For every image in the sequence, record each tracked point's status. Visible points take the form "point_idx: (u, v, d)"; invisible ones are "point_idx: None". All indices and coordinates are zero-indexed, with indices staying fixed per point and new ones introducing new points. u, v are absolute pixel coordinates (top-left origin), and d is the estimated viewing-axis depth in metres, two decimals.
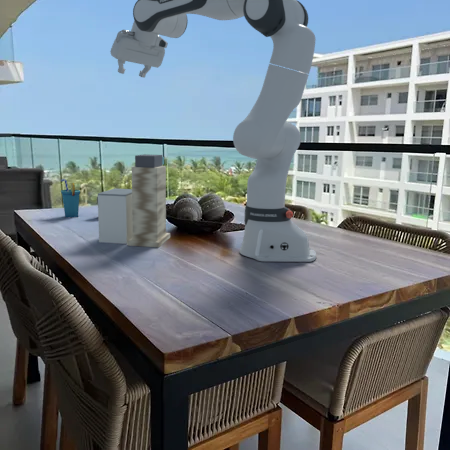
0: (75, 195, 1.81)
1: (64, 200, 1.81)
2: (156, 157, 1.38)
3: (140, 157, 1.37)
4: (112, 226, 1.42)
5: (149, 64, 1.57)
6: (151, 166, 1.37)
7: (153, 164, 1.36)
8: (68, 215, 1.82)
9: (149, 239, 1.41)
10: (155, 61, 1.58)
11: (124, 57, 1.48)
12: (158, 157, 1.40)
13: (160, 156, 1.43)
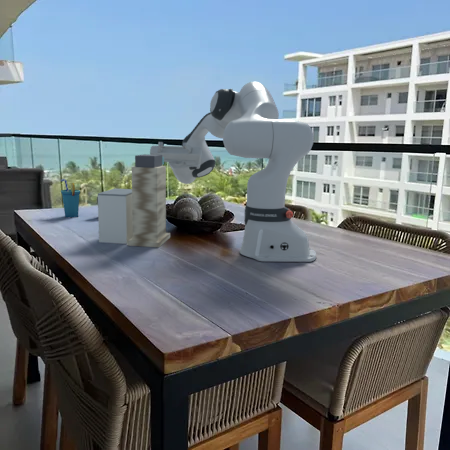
0: (75, 195, 1.81)
1: (64, 200, 1.81)
2: (156, 157, 1.38)
3: (140, 157, 1.37)
4: (112, 226, 1.42)
5: None
6: (151, 166, 1.37)
7: (153, 164, 1.36)
8: (68, 215, 1.82)
9: (149, 239, 1.41)
10: None
11: None
12: (158, 157, 1.40)
13: (160, 156, 1.43)
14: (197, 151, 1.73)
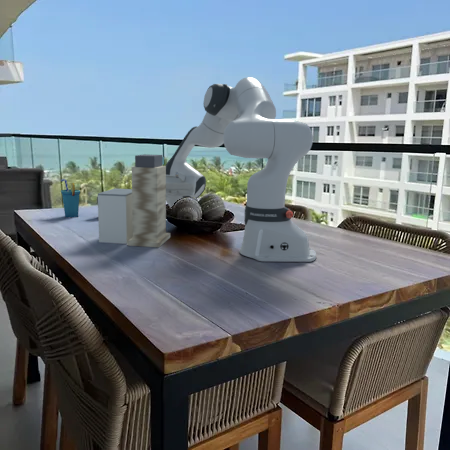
0: (75, 195, 1.81)
1: (64, 200, 1.81)
2: (156, 157, 1.38)
3: (140, 157, 1.37)
4: (112, 226, 1.42)
5: None
6: (151, 166, 1.37)
7: (153, 164, 1.36)
8: (68, 215, 1.82)
9: (149, 239, 1.41)
10: None
11: None
12: (158, 157, 1.40)
13: (160, 156, 1.43)
14: (191, 180, 1.63)
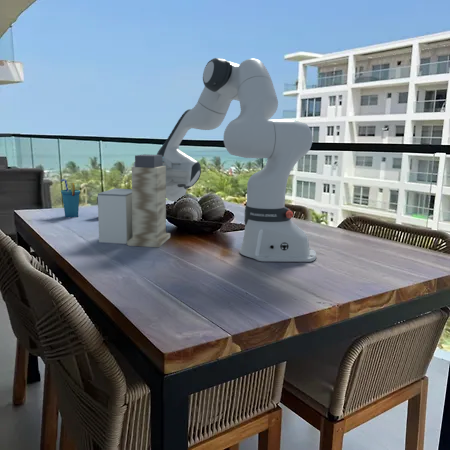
0: (75, 195, 1.81)
1: (64, 200, 1.81)
2: (156, 157, 1.38)
3: (140, 157, 1.37)
4: (112, 226, 1.42)
5: None
6: (151, 166, 1.37)
7: (153, 164, 1.36)
8: (68, 215, 1.82)
9: (149, 239, 1.41)
10: None
11: None
12: (158, 157, 1.40)
13: (160, 156, 1.43)
14: (186, 167, 1.54)
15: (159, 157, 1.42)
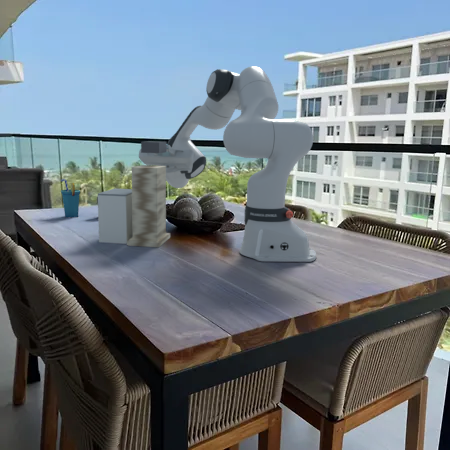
0: (75, 195, 1.81)
1: (64, 200, 1.81)
2: (160, 143, 1.48)
3: (146, 143, 1.47)
4: (112, 226, 1.42)
5: None
6: (156, 152, 1.47)
7: (158, 150, 1.46)
8: (68, 215, 1.82)
9: (149, 239, 1.41)
10: None
11: None
12: (162, 143, 1.50)
13: (164, 143, 1.53)
14: (188, 154, 1.64)
15: (163, 143, 1.52)
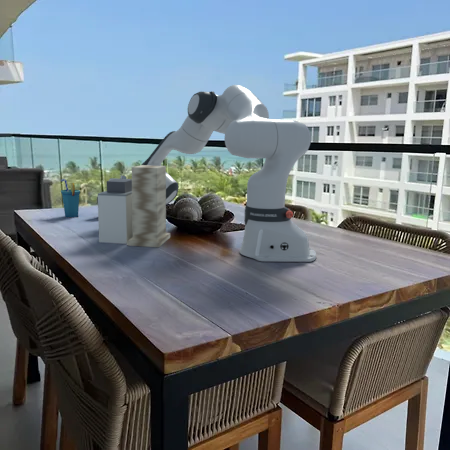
0: (75, 195, 1.81)
1: (64, 200, 1.81)
2: (127, 182, 1.44)
3: (111, 183, 1.43)
4: (112, 226, 1.42)
5: None
6: (122, 192, 1.43)
7: (124, 189, 1.42)
8: (68, 215, 1.82)
9: (149, 239, 1.41)
10: None
11: None
12: (129, 182, 1.46)
13: None
14: None
15: (130, 182, 1.48)
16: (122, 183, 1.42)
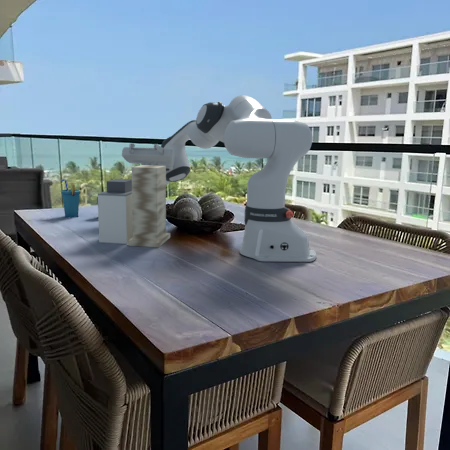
0: (75, 195, 1.81)
1: (64, 200, 1.81)
2: (127, 182, 1.44)
3: (111, 183, 1.43)
4: (112, 226, 1.42)
5: None
6: (122, 192, 1.43)
7: (124, 189, 1.42)
8: (68, 215, 1.82)
9: (149, 239, 1.41)
10: None
11: None
12: (129, 182, 1.46)
13: None
14: (169, 152, 1.72)
15: (130, 182, 1.48)
16: (122, 183, 1.42)
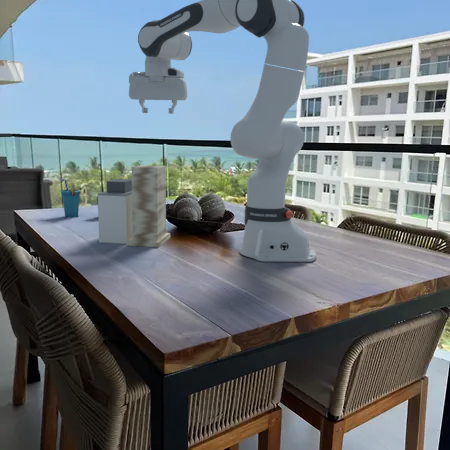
0: (75, 195, 1.81)
1: (64, 200, 1.81)
2: (127, 182, 1.44)
3: (111, 183, 1.43)
4: (112, 226, 1.42)
5: (169, 97, 1.55)
6: (122, 192, 1.43)
7: (124, 189, 1.42)
8: (68, 215, 1.82)
9: (149, 239, 1.41)
10: (176, 93, 1.55)
11: (137, 95, 1.57)
12: (129, 182, 1.46)
13: None
14: None
15: (130, 182, 1.48)
16: (122, 183, 1.42)
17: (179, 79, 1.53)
